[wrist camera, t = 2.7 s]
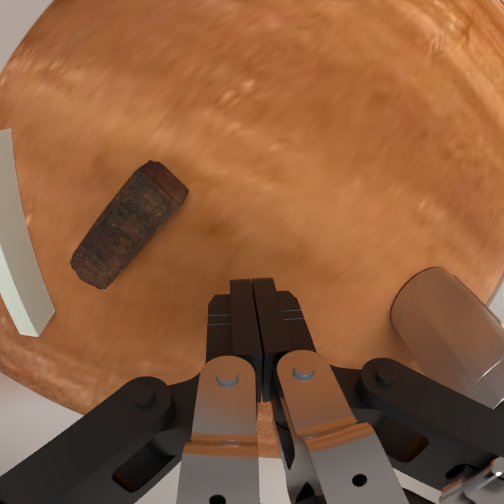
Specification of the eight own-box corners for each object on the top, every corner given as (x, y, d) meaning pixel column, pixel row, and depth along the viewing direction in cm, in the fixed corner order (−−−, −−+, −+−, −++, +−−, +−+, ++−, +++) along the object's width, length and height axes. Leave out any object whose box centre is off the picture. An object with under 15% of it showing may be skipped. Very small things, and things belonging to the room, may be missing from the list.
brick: (155, 155, 20) (137, 165, 16) (191, 189, 22) (181, 208, 17) (84, 243, 23) (61, 269, 19) (115, 271, 24) (98, 300, 20)
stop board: (11, 128, 17) (-20, 134, 13) (55, 310, 26) (38, 337, 22) (-7, 135, 16) (-37, 144, 12) (37, 309, 25) (20, 334, 21)
